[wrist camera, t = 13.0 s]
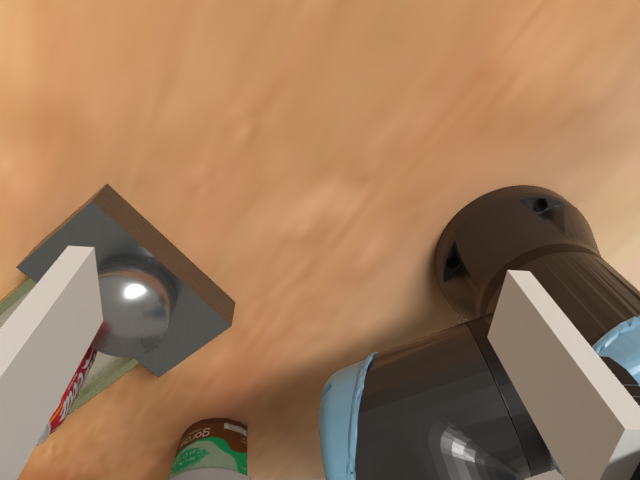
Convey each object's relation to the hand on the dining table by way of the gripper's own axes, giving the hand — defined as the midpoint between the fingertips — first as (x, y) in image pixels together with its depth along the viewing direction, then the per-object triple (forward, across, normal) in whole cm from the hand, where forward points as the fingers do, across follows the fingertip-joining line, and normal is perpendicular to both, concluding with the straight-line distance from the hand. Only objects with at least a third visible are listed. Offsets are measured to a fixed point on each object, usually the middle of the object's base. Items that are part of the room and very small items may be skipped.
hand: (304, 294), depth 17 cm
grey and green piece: (+31, +19, +23) cm, 43 cm away
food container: (+31, +8, +41) cm, 52 cm away
